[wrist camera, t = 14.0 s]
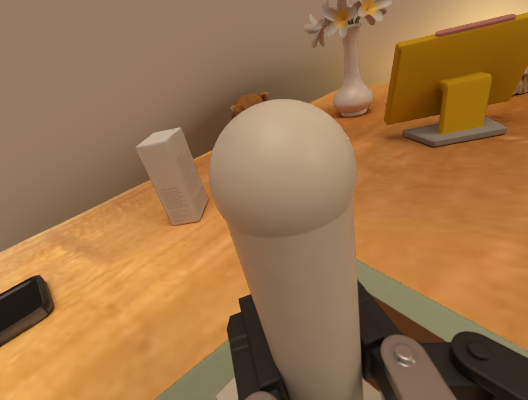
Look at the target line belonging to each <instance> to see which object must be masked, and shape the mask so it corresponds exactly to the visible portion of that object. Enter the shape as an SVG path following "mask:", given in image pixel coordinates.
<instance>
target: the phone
mask: <svg viewBox="0 0 528 400" xmlns="http://www.w3.org/2000/svg"><path fill="white" fill-rule="evenodd" d="M52 309H53V302H52V299H51V296H50V293H49V289H48V286H47V283H46V282H45V281H44V280H43V278H42V277H41V276H40V275H37V276H33V277H31V278H29V279H27V280H25V281H23V282H21V283H20V284H18V285H16V286H14V287H12V288H10V289H9V290H7V291H5V292H3V293H1V294H0V345H2V344H3V343H5V342H7V341H8V340H10V339H11V338H13V337H14V336H16V335H18V334H19V333H21V332H22V331H24V330H26V329H27V328H29V327H30V326H32V325H33V324H35V323H37V322H38V321H40V320H41V319H43V318H44V317H46V316H47V315H48V314H49V313H50V312H51V311H52Z"/></svg>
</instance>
